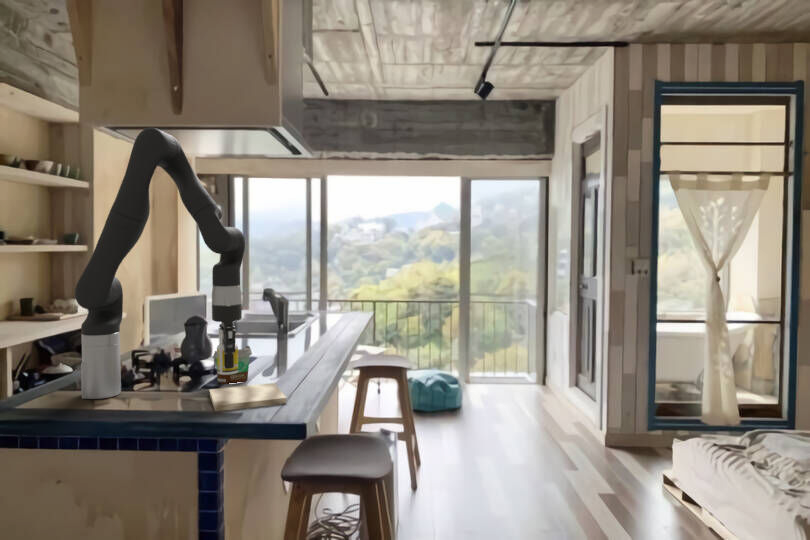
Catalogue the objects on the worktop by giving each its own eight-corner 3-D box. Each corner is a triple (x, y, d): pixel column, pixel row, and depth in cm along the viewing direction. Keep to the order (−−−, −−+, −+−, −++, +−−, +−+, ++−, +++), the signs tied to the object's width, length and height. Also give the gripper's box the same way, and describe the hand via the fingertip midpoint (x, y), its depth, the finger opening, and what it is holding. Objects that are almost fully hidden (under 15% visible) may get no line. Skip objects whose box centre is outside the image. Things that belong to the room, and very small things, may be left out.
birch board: (215, 411, 140) (215, 405, 140) (209, 394, 155) (209, 389, 155) (286, 403, 148) (286, 397, 148) (274, 388, 162) (274, 383, 162)
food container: (226, 388, 162) (225, 354, 161) (213, 384, 166) (213, 351, 165) (260, 379, 172) (260, 347, 171) (247, 376, 175) (247, 345, 175)
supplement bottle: (242, 371, 150) (242, 335, 150) (228, 376, 145) (227, 338, 145) (227, 369, 153) (226, 333, 152) (212, 373, 148) (212, 337, 147)
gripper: (209, 300, 153) (210, 361, 154) (214, 306, 140) (215, 373, 141) (237, 299, 156) (238, 358, 157) (245, 304, 143) (246, 370, 144)
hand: (227, 365), depth 149 cm, fingers closed on supplement bottle, 5 cm apart
